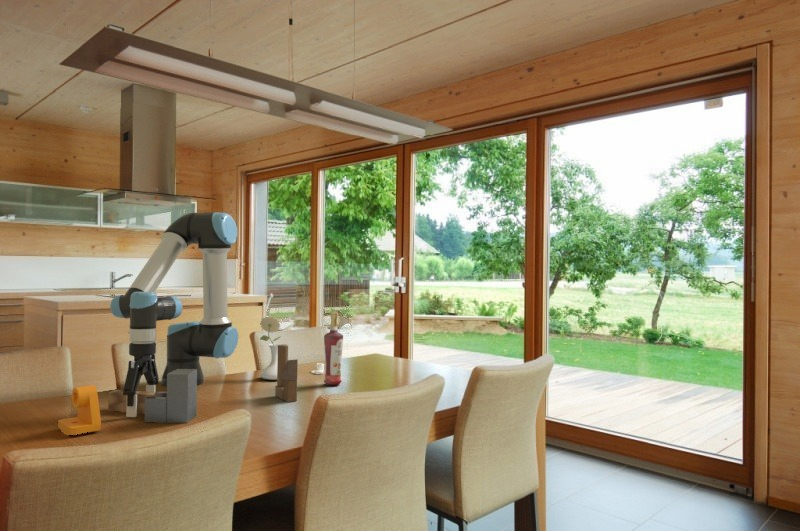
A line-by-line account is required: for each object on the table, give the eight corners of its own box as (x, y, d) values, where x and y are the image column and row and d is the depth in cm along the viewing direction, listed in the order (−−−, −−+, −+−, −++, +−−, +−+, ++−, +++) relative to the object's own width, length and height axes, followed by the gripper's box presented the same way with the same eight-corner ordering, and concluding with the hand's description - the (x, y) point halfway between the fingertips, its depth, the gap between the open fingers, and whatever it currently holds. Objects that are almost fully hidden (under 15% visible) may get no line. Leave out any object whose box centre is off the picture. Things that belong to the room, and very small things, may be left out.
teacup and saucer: (320, 376, 238) (320, 366, 238) (305, 373, 242) (306, 364, 242) (333, 372, 245) (333, 363, 245) (319, 370, 250) (319, 361, 250)
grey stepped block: (156, 414, 172) (157, 368, 172) (196, 415, 173) (197, 369, 173) (144, 422, 164) (145, 374, 164) (186, 423, 164) (187, 374, 164)
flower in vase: (294, 377, 231) (295, 316, 231) (276, 383, 221) (278, 318, 221) (268, 374, 237) (269, 314, 237) (249, 379, 226) (251, 316, 226)
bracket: (56, 430, 155) (57, 386, 155) (85, 424, 161) (86, 382, 161) (71, 438, 148) (72, 392, 148) (101, 432, 154) (101, 388, 154)
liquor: (334, 387, 214) (335, 313, 214) (319, 385, 218) (320, 312, 218) (346, 384, 221) (347, 312, 221) (331, 382, 225) (332, 310, 224)
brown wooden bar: (108, 411, 176) (108, 392, 176) (115, 409, 179) (115, 389, 179) (168, 415, 173) (169, 395, 173) (174, 412, 176) (175, 393, 176)
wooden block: (287, 402, 191) (288, 348, 191) (274, 396, 199) (275, 344, 199) (297, 401, 193) (298, 348, 193) (284, 394, 202) (285, 343, 202)
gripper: (147, 336, 188) (145, 401, 188) (111, 347, 163) (109, 421, 163) (170, 337, 188) (168, 401, 188) (137, 348, 163) (136, 422, 163)
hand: (141, 411), depth 176 cm, fingers open, 13 cm apart
